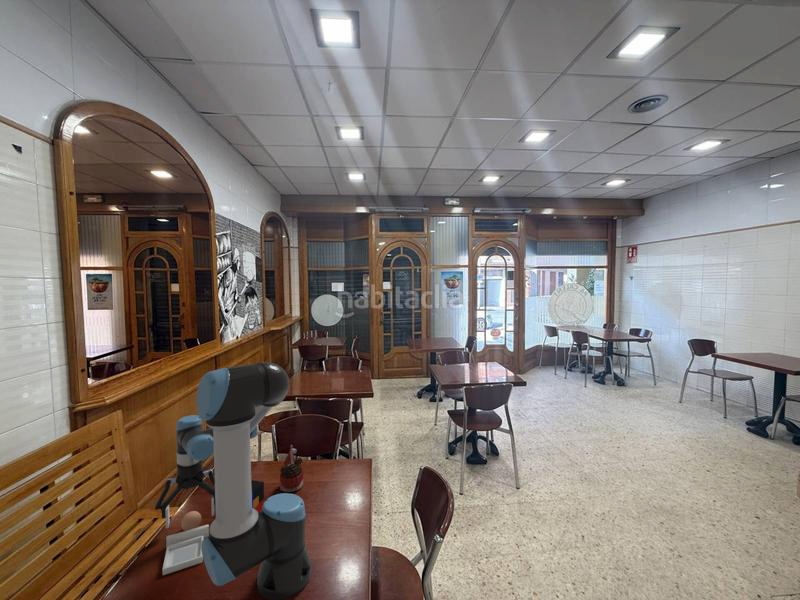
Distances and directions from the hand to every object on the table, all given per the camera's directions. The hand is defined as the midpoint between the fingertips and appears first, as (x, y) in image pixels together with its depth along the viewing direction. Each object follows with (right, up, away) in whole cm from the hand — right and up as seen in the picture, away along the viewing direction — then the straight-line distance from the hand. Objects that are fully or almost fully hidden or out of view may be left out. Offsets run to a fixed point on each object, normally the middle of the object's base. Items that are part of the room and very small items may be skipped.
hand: (190, 519), depth 118 cm
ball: (0, -3, 0) cm, 3 cm away
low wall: (+3, -4, -6) cm, 7 cm away
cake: (+28, -3, +25) cm, 37 cm away
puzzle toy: (+15, -3, +8) cm, 17 cm away
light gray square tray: (+5, -4, -12) cm, 14 cm away
